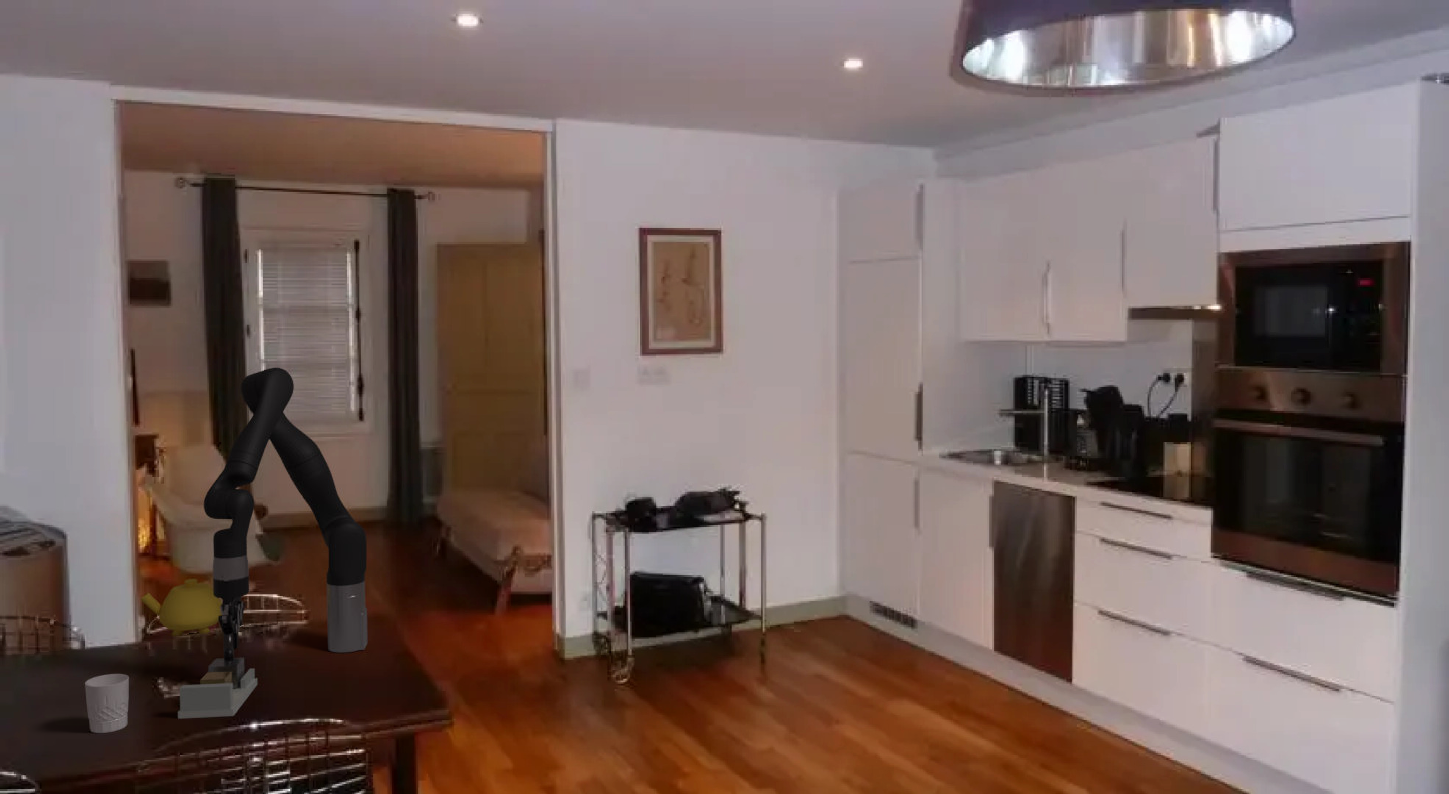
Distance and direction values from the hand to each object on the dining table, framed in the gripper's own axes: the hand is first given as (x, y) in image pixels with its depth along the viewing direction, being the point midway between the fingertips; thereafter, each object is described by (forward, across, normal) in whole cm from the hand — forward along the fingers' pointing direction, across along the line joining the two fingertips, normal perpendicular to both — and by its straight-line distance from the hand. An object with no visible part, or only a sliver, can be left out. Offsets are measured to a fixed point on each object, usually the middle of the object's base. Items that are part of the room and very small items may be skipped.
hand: (232, 648), depth 253 cm
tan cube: (+7, +15, 0) cm, 16 cm away
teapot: (+8, -46, -25) cm, 53 cm away
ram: (+6, +6, 0) cm, 9 cm away
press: (+8, +12, 0) cm, 15 cm away
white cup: (+8, +25, -18) cm, 32 cm away
